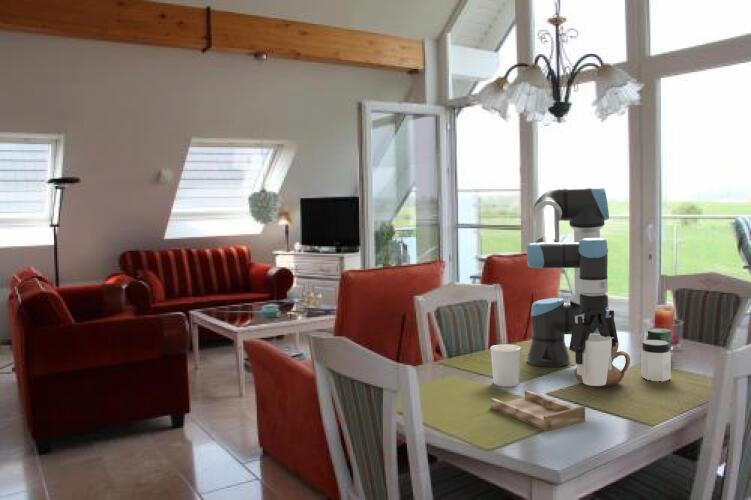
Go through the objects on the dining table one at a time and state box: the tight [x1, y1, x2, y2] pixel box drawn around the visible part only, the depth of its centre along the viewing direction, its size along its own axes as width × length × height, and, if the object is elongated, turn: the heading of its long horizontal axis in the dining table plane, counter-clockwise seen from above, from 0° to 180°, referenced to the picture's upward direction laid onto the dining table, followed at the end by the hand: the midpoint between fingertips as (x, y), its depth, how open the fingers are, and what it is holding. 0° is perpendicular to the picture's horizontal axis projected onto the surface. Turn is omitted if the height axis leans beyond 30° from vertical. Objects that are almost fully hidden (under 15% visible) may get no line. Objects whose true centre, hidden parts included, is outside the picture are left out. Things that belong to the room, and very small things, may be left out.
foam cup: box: [579, 334, 613, 387], centre depth 182 cm, size 10×9×13 cm
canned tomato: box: [647, 327, 672, 352], centre depth 235 cm, size 8×8×11 cm
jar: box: [640, 339, 672, 383], centre depth 212 cm, size 9×8×12 cm
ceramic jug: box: [571, 341, 631, 388], centre depth 208 cm, size 18×14×14 cm
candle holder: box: [489, 343, 522, 388], centre depth 213 cm, size 10×10×12 cm
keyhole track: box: [490, 389, 586, 432], centre depth 182 cm, size 23×14×4 cm, turn 28°
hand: (594, 371), depth 182 cm, fingers closed on foam cup, 9 cm apart
